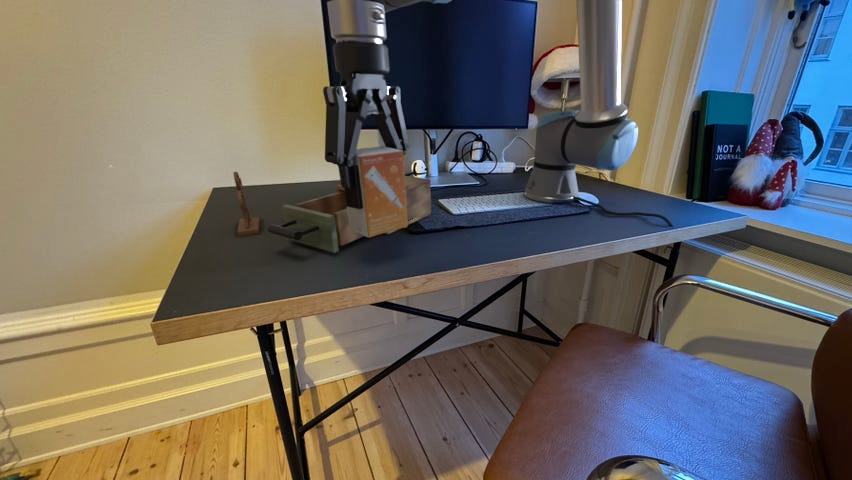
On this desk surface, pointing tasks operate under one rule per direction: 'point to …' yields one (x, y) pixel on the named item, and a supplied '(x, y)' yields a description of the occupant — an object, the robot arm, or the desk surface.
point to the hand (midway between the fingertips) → (376, 199)
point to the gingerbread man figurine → (245, 212)
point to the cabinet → (413, 198)
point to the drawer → (318, 223)
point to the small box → (379, 192)
